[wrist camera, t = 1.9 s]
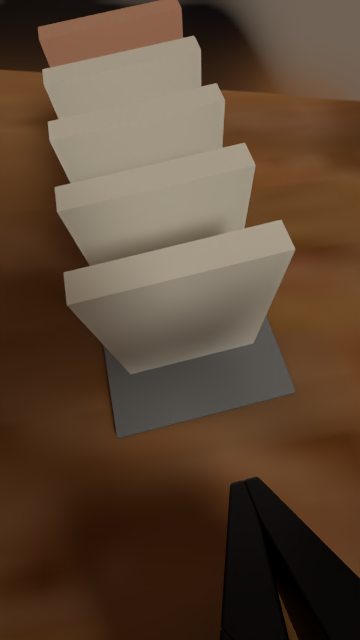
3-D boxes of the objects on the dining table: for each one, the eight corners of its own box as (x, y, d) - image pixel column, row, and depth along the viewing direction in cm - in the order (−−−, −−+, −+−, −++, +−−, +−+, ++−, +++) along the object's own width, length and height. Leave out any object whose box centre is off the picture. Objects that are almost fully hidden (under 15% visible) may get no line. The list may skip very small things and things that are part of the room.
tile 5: (189, 162, 32) (181, 8, 21) (96, 184, 32) (39, 39, 21) (185, 151, 32) (176, -3, 22) (94, 172, 32) (37, 26, 21)
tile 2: (233, 287, 26) (255, 165, 15) (120, 315, 26) (57, 212, 15) (227, 271, 27) (244, 142, 16) (117, 298, 26) (54, 187, 15)
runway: (293, 393, 23) (295, 391, 22) (119, 438, 23) (117, 437, 22) (187, 115, 36) (186, 110, 35) (74, 141, 35) (72, 136, 35)
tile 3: (216, 240, 28) (225, 100, 17) (111, 265, 28) (49, 141, 17) (211, 226, 29) (216, 83, 18) (108, 251, 28) (47, 121, 17)
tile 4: (201, 198, 30) (200, 49, 19) (103, 222, 30) (43, 84, 19) (197, 186, 31) (194, 35, 20) (101, 209, 30) (42, 69, 19)
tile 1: (253, 343, 24) (295, 249, 13) (130, 374, 24) (66, 305, 13) (246, 324, 25) (281, 219, 14) (127, 354, 24) (63, 272, 13)
